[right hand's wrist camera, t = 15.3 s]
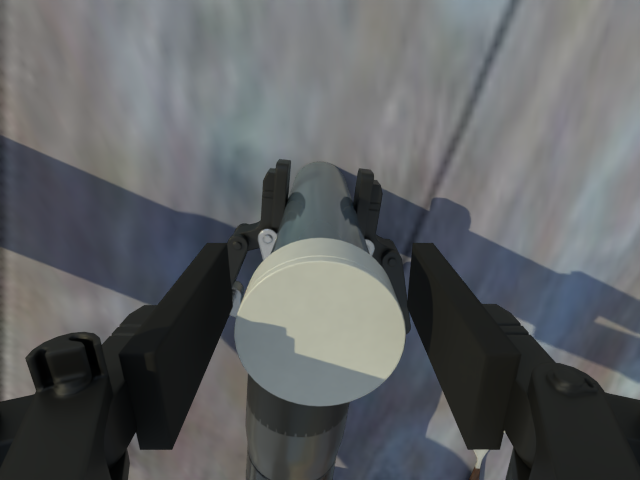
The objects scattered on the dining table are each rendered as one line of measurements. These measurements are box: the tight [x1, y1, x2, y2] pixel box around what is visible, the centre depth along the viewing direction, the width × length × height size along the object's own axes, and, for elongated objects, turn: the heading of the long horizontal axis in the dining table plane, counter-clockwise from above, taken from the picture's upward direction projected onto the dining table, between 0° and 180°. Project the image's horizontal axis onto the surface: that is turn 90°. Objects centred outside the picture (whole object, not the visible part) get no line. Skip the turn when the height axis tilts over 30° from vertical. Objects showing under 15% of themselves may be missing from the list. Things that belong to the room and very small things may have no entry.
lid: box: [234, 238, 406, 406], centre depth 11 cm, size 5×5×2 cm
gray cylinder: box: [270, 162, 370, 255], centre depth 20 cm, size 4×4×19 cm
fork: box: [469, 431, 505, 480], centre depth 38 cm, size 3×16×2 cm, turn 177°
